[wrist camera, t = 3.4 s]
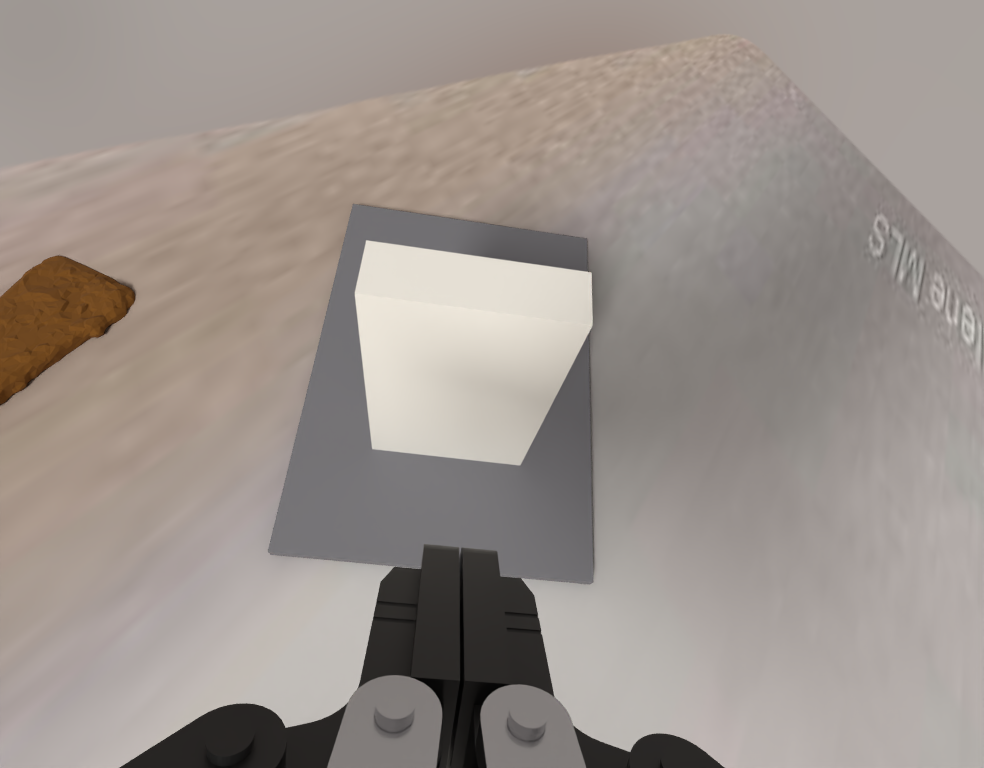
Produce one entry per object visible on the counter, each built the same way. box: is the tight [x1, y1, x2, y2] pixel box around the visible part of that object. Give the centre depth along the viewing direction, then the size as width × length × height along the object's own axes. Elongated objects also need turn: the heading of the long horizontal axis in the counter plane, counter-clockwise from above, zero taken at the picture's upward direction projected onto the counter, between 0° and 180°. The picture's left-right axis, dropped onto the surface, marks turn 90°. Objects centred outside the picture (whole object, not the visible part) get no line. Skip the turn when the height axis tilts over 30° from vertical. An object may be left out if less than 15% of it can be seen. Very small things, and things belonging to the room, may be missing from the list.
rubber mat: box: [268, 204, 593, 584], centre depth 30 cm, size 20×14×1 cm
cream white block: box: [355, 240, 593, 465], centre depth 23 cm, size 2×7×12 cm, turn 87°
